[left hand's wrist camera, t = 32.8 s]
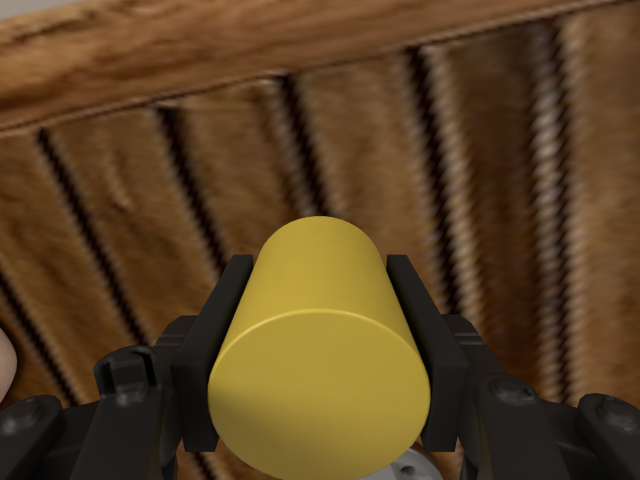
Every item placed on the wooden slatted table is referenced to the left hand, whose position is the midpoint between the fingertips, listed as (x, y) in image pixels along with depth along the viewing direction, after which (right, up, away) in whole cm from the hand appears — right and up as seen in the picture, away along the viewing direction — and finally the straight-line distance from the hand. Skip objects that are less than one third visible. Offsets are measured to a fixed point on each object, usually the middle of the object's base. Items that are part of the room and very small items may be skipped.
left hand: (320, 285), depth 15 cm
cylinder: (0, 0, +1) cm, 1 cm away
